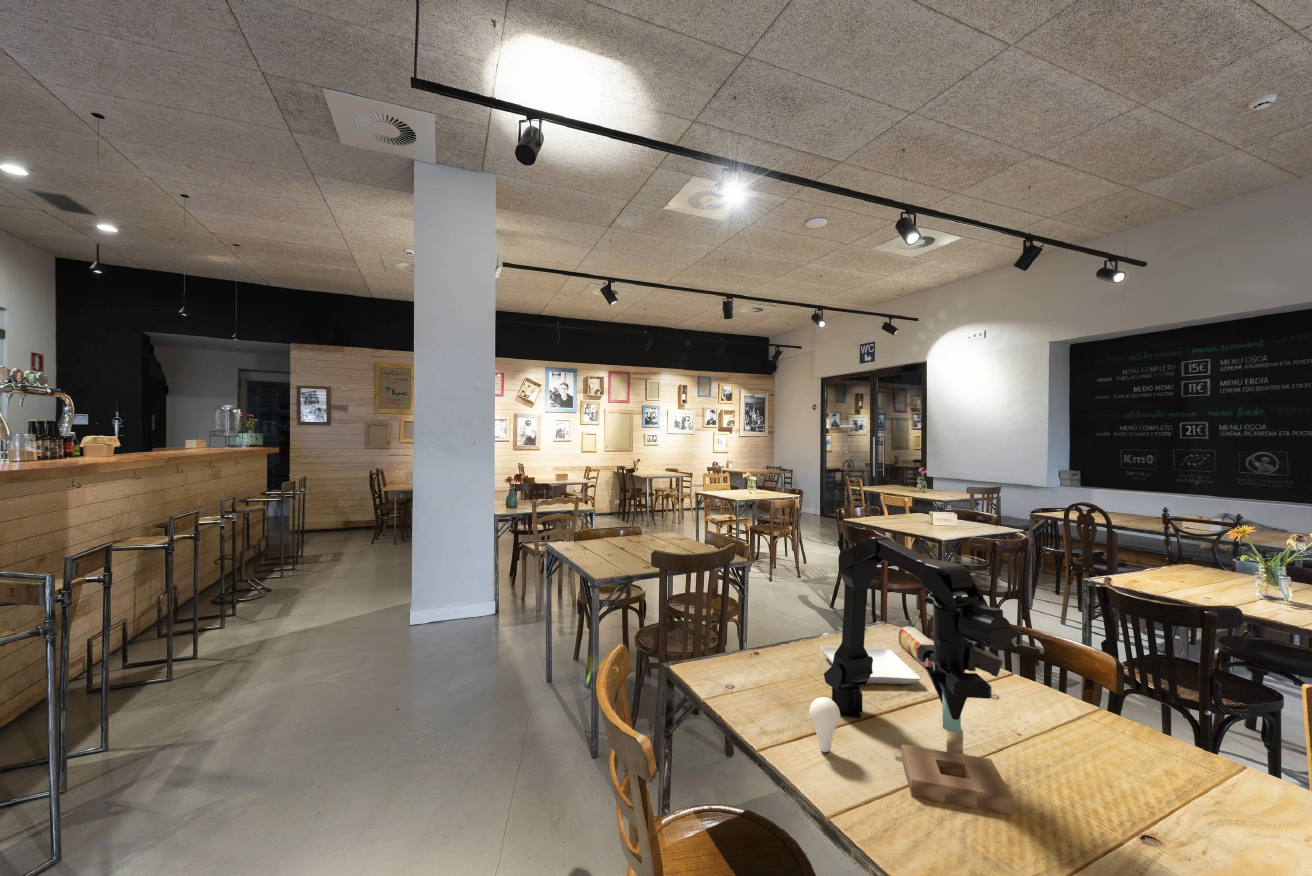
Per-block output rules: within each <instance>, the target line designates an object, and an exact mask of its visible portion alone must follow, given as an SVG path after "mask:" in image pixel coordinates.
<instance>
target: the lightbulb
mask: <svg viewBox="0 0 1312 876" xmlns="http://www.w3.org/2000/svg"><path fill="white" fill-rule="evenodd" d="M809 716H810V719H811V721H812V724H813V725H814V728H815V731H816V739H817V747H818V749H819V750H820V751H821V752H823V753H827V752H830V751H831V749H832V741H833V738H834V737H833V736H834V732H835V731H836V730H835V729H836V728H837V726H838V725H839V723H840V720H841V715H840V711H839V708H838V706H837V705H836V703H835V702H834V701H832V698H829V697H826V696H821V697H820V696H819V697H817V698H815V699H814V700H813V701H812V702H811V703H810V706H809Z"/></svg>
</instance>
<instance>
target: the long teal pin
mask: <svg viewBox="0 0 1312 876" xmlns="http://www.w3.org/2000/svg"><path fill="white" fill-rule="evenodd" d="M941 706H942V729H944V730H945V731H946V732H947V731H950V732H954V733H958V732H961V729H962V722H961V721H962V719H961V718H962V717H961V715H962V714H961V715H960V718H959V720H954V719H952V717H951V714H950V712H949V709H948V706H947V703H946V701H945V698H944V695H943V692H942V703H941Z"/></svg>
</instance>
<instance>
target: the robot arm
mask: <svg viewBox="0 0 1312 876" xmlns="http://www.w3.org/2000/svg"><path fill="white" fill-rule="evenodd" d="M837 561H838V562H837V563H838V573H839V575H840V578H841V579H842V581H843V583H844V599H843V600H844V601H843V603H844V604H843V613H842V614H843V617H842V632H841V634H842V635H841V643H840V645H839V646H838V647H839V648H838V649H837V651H836V652H835V654H834V659H833V664H832V665H831V667H829V668H828V669H827V670H826V671H825V672H824V673H823V678H824V681H825V684H826V685H828V686H830V687H831V700H832V701H834V702H835V703H836V705H837V706H838V708H839V711H840V716H845V717H851V718H856V719H857V718H858V719H860V718H861V716H862V715H861V713H862V712H863V692H862V690H861V689H860V687H866V686H867V684H868V683H867V681H868V679H869V678H870V675H871V674H873V671H872V663H873V658H872V657H871V656H869V655H868V654H867V652H866V650H865V648H866V647H865V636H866V635H865V634H866V619H867V617H866V616H867V601H868V589H869V586H870V585H871V583H872V582H873V581H874V578H875V577H876V574H877V568H878V565H880V564H881V563H883V562H884V561H886V562H887V563H889V564H891V565H893V566H895V567H896V568H899V569H900V570H902V571H904V572H906V573H908V574H910V575H912V576H914V577H916V579H918V580H919V583H920V584H921V586H922V587H923V588H924V589H926V590H927V591H928V592H930V594H929V595H928V596H926V597H925V598H923V603H926V604H930V605H932V606H933V607H932V609H933V610H932V612H933V613H932V614H933V617H932V618H933V632H929V638H930V640H931V641H932V642H933V643H934V645H920V646H919V647H918V648H917V658H918V659H919V660H920V661H921V662H925V661H926V658H928V660H929V661H930V667H924V668H925V671H926V673H927V674H928V677H929V678H930V680H931V683H932V685H933V688H934V689H935V691H936V694H937V696H938V698H939V700H940V702H941V704H942V692H943V695H944V698H945V701H946V703H947V706H948V709H949V712H950V714H951V717H952V719H954V720H959V718H960V715H962V712H963V709H964V707H965V704H966V702H967V699H968V698H970V699H971V698H972V699H988V700H989V699H991V698H992V693H993V692H992V686H991V684H989V683H988V682H987V681H986V680H985V679H984V678H983V677H981V676H980V675H979V674H978V673H976V669H978V670H981V671H984V672H986V673H989V674H990V675H991V676H993V677H998V676H999V674H1000V671H1001V668H1002V666H1003V662H1004V660H1003V659H1001V658H1000V657H999V656H997V655H996V654H994V653H992V652H991V651H989V650H988V649H986V647H988V648H992V649H993V650H997V651H1002V650H1004V649H1006V648H1007V647H1008V646H1009V645H1010V643H1011V641H1012V638H1013V628H1012V627H1011V623H1010V621H1009V620H1008V619H1007V618H1006V617H1004V611H1003V609H1001V608H998V607H991V606H987V601H986V599H985V597H984V595H983V594H982V592H981V591H980V589H979V587H978V585H977V584H976V582H975V581H974V579H973V576H972V574H971V571H970V570H969V568H967V567H966V566H964V565H962V564H959V563H955V562H952V561H945V560H939V559H934V558H930V557H928V556H926V555H924V554H921V553H920V552H918V551H915V550H913V549H911V548H909V547H906V546H905V545H902V544H900V543H899V542H896V541H894V540H893V539H891V538H890V537H888V536H871V537H869V538H867V539H866V540H865V541H864V542H861V543H858V544H856V545H854V546H851V547H850V548H845V549H843V550H842V551H841V552H839V554H838V560H837ZM958 596H959V597H958ZM961 596H962V597H961ZM966 671H969V672H966ZM974 672H975V673H974Z"/></svg>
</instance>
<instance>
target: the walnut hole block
mask: <svg viewBox="0 0 1312 876" xmlns="http://www.w3.org/2000/svg"><path fill="white" fill-rule="evenodd" d="M901 761H902V766H903V770H904V774H905V779H906V781H907V784H908V788H909V789H908V790H909V792H910V797H914V798H920V799H925V800H930V801H935V802H941V803H945V804H946V803H947V804H952V805H958V806H962V807H966V808H967V807H968V808H973V809H979V810H984V811H988V812H989V811H990V812H994V813H1001V814H1005V815H1011V816H1013V796H1012V794H1011V793H1010V790H1009V789H1008V786H1007V785H1006V783H1005V782H1004V780H1003V778H1002V776H1001V774H1000V773H999V770H998V768H997V766H996V765H995V763H994V762H993V760H992V758H989V757H982V756H975V755H968V754H964V753H963V754H957V753H951V752H947V751H944V750H939V749H938V750H937V749H932V748H925V747H919V746H913V745H907V744H901Z"/></svg>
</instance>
